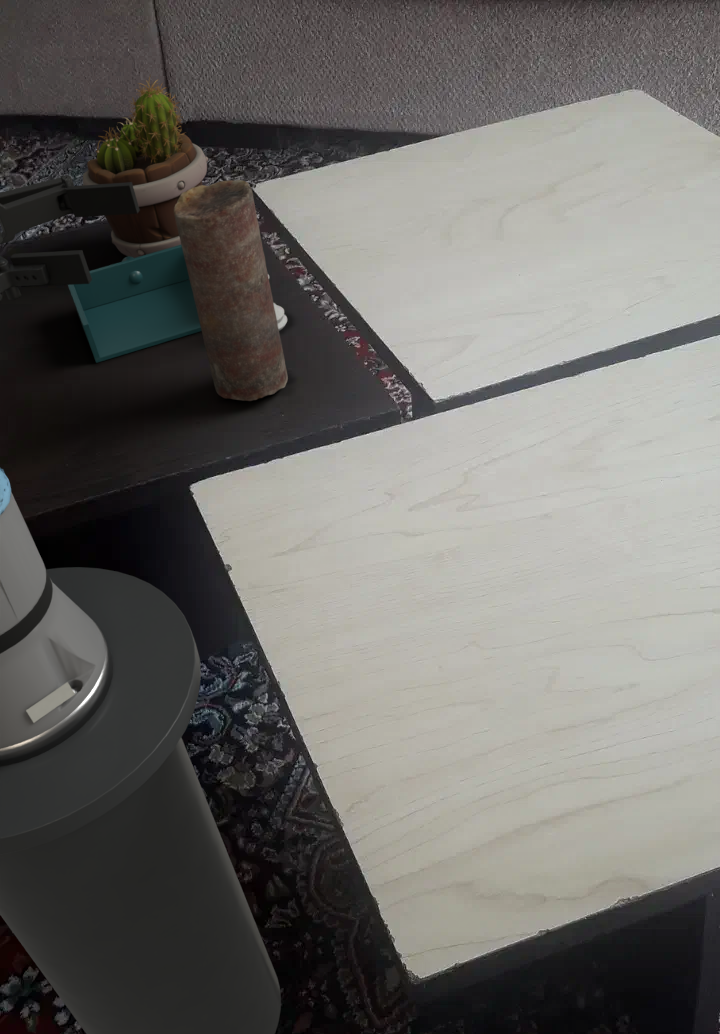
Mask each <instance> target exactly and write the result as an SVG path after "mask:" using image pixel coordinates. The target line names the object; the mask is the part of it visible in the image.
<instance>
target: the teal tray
mask: <svg viewBox="0 0 720 1034" xmlns="http://www.w3.org/2000/svg"><path fill="white" fill-rule="evenodd" d="M89 272H90V275H91V278H92V280H91V282H90V283H89V284H74V285H67V287H68V290H69V292H70V296H71V299H72V302H73V304H74V307H75V310H76V313H77V315H78V318H79V321H80V323H81V326H82V330H83V332H84V334H85V336H86V340H87V342H88V345H89V347H90V350H91V354H92V356H93V359H94V360H95V363H96V364H97V363H102V362H104V361H107V360H112V359H114V358H117V357H120V356H124V355H128V354H131V353H134V352H138V351H140V350H143V349H146V348H151V347H154V346H156V345H160V344H164V343H167V342H170V341H174V340H178V339H179V338H184V337H187V336H190V335H194V334H197V333H200V332H202V331H201V326H200V322H199V317H198V313H197V308H196V304H195V300H194V296H193V291H192V287H191V284H190V279H189V274H188V270H187V266H186V262H185V258H184V254H183V249H182V245H178V246H175V247H171V248H168V249H164V250H161V251H157V252H154V253H150V254H147V255H144V256H140V257H137V258H133V257H127V256H125V257H124V258H123V259H122V260H121V261H120V262H116V263H112V264H110V265H105V266H102V267H98V268H96V269H92V270H89Z"/></svg>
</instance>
